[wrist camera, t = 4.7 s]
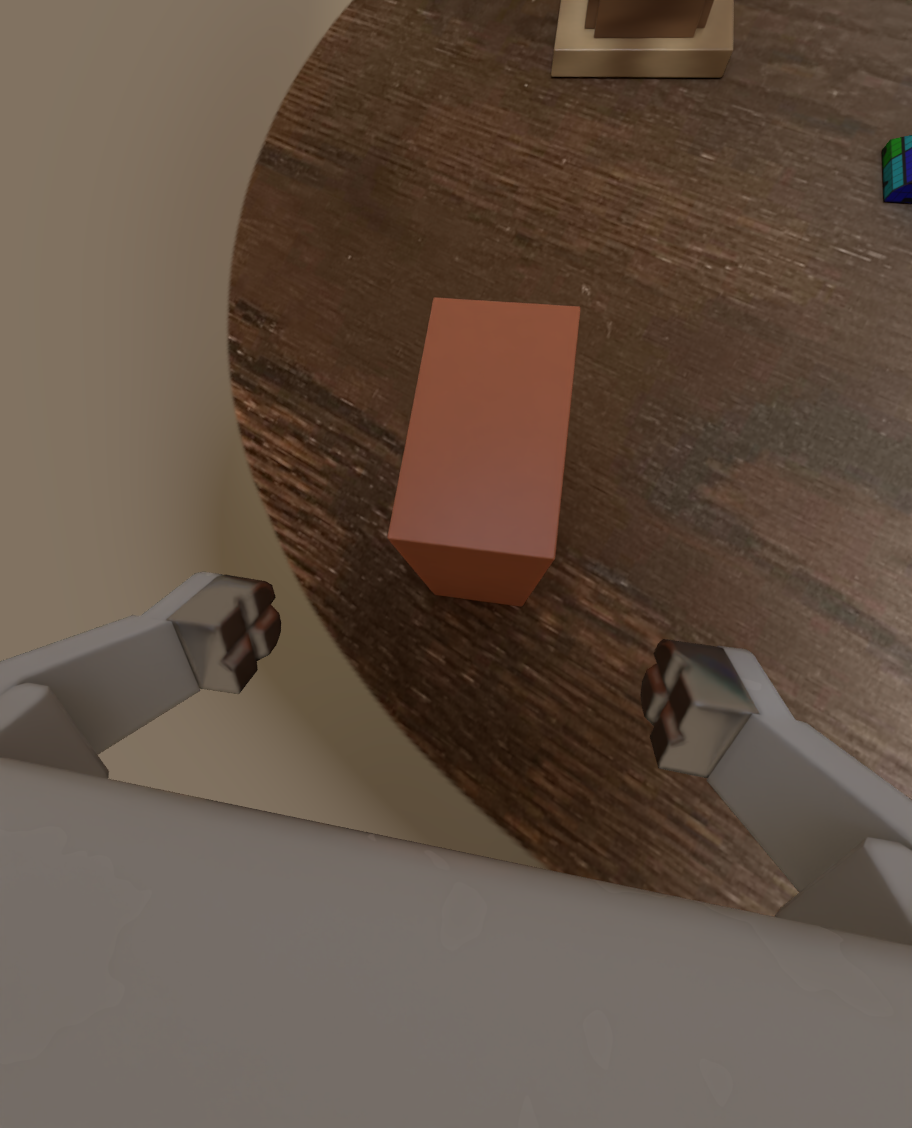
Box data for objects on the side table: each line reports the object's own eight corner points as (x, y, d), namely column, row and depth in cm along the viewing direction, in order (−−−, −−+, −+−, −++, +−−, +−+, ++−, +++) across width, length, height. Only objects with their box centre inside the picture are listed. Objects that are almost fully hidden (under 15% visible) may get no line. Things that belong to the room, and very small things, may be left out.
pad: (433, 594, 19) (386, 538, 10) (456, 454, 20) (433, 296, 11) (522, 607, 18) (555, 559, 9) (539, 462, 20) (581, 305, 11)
